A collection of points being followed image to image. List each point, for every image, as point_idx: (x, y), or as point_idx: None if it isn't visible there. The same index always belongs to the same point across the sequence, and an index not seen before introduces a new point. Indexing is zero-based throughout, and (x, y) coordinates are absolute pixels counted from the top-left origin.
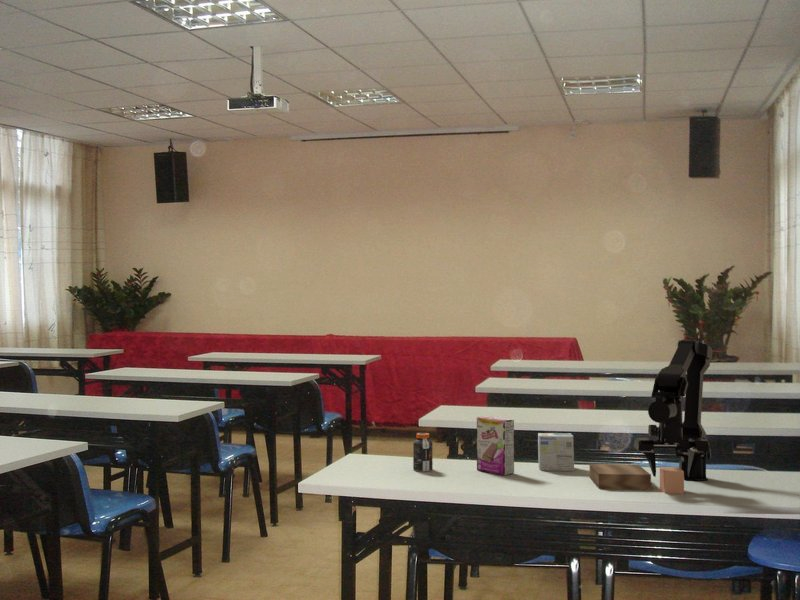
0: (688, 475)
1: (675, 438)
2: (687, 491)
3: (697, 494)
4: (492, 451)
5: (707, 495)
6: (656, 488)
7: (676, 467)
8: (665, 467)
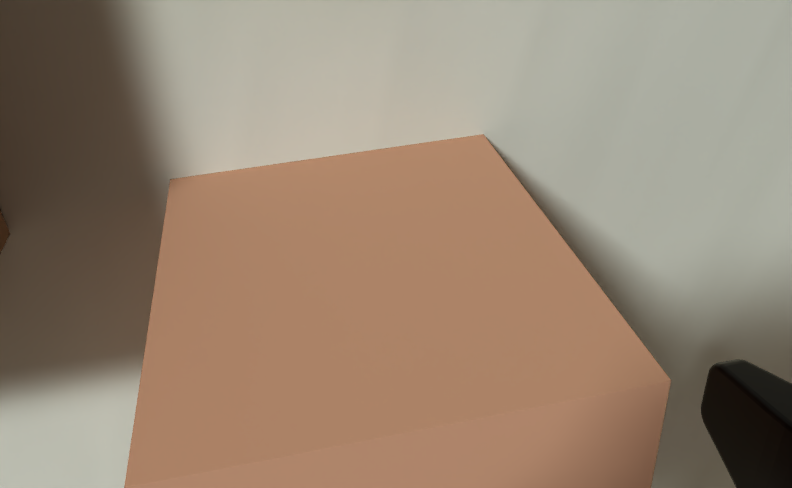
0: (718, 407)
1: None
2: (571, 242)
3: None
4: None
5: None
6: (109, 135)
7: (622, 394)
8: (307, 462)
